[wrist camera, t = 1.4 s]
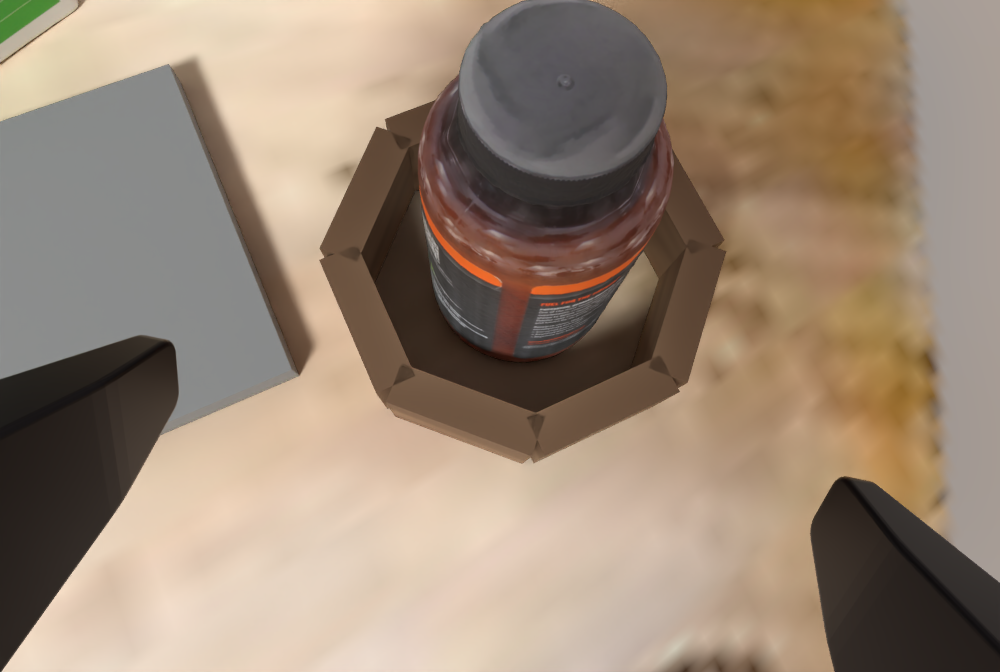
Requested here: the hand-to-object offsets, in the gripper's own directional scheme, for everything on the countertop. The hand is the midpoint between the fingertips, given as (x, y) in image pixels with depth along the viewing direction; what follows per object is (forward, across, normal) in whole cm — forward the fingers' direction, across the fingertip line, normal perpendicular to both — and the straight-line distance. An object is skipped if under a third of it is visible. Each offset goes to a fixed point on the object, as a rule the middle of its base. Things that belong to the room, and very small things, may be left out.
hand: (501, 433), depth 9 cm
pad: (+12, +15, +7) cm, 20 cm away
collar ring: (+14, 0, +4) cm, 15 cm away
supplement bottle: (+14, 0, +5) cm, 15 cm away
